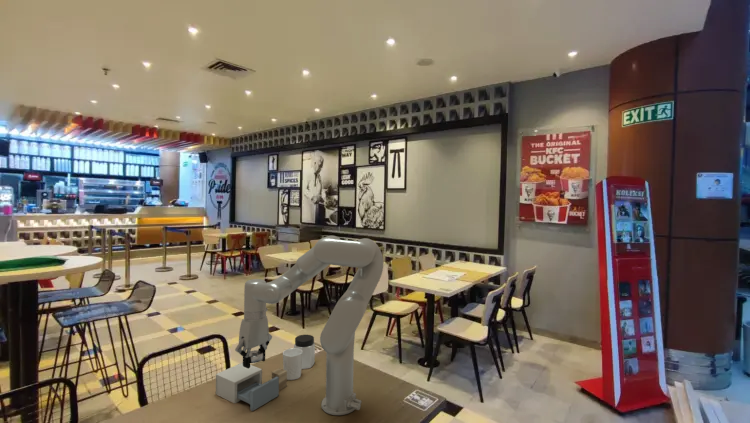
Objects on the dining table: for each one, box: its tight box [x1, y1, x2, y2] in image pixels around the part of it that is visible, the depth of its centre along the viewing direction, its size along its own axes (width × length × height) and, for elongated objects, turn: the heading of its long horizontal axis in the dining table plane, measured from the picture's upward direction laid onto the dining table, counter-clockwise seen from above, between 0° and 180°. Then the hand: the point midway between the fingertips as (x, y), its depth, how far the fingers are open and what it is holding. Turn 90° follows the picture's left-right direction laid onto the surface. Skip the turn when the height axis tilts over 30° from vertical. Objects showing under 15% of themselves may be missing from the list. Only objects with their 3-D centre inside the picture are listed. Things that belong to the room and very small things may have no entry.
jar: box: [293, 334, 316, 370], centre depth 155 cm, size 9×8×12 cm
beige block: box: [271, 367, 288, 391], centre depth 136 cm, size 4×4×6 cm
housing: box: [215, 361, 263, 404], centre depth 132 cm, size 11×12×8 cm
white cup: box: [282, 347, 303, 381], centre depth 145 cm, size 8×8×10 cm
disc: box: [249, 349, 263, 364], centre depth 127 cm, size 6×6×2 cm
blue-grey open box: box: [237, 377, 280, 412], centre depth 127 cm, size 11×12×7 cm
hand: (254, 363), depth 128 cm, fingers closed on disc, 5 cm apart
